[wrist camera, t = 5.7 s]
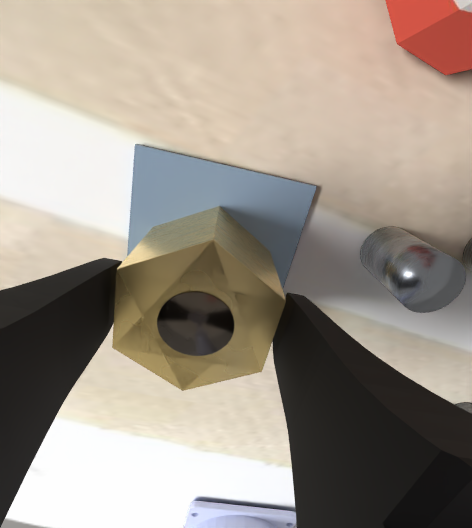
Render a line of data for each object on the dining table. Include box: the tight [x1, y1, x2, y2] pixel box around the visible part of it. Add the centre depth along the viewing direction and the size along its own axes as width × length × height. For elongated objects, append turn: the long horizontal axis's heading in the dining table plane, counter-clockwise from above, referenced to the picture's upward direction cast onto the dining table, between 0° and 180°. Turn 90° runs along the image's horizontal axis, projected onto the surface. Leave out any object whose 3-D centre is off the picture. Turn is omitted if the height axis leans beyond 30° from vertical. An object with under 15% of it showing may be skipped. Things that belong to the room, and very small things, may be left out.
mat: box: [127, 144, 317, 290], centre depth 13 cm, size 9×7×1 cm
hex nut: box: [112, 206, 286, 391], centre depth 11 cm, size 6×5×4 cm
